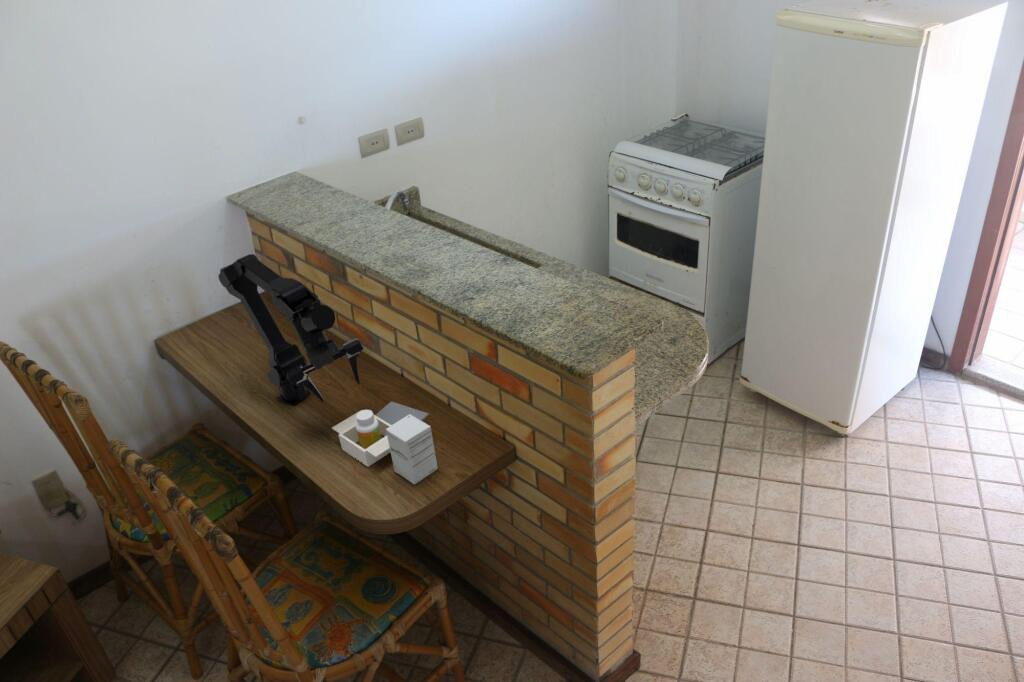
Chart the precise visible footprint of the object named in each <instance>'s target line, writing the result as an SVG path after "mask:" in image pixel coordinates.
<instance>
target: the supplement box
mask: <svg viewBox="0 0 1024 682" xmlns="http://www.w3.org/2000/svg"><path fill="white" fill-rule="evenodd" d="M386 433H387V437H388V442H389V447H390V455H391V460H392V465H393V470H394V472H395V473H397V474H398V475H400V476H401V477H403V478H404V479H406V480H407V481H408V482H409V483H410V484H412V485H416V484H418V483H419V482H421V481H422V480H423V479H425V478H426V477H428V476H429V475H431V474H433V473H434V472H435V471H437V470H438V461H437V457H436V456H437V455H436V451H435V445H434V439H433V433H432V426H431V425H429V424H427V423H426V422H425V421H421V420H419V419H417V418H416V417H414V416H412V415H411V414H409V415H407V416H406V417H404V418H402V419H401V420H399V421H398V422H396V423H395V424H393V425H391V426H390V427H388V428H387V429H386Z"/></svg>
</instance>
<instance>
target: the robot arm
mask: <svg viewBox="0 0 1024 682" xmlns="http://www.w3.org/2000/svg"><path fill="white" fill-rule="evenodd" d="M219 272H220V273H218V280H219V282H220V284H221V286H223V288H225V289H226V291H227V293H228V294H229V295H231V296H233V297H235V298H236V299H238V300H240V302H241V304H242V305H243V307H244V309H245V310H246V312H247V314H248V316H249V318H250V319H251V321H252V323H253V325H254V326H255V328H256V330H257V332H258V333H259V335H260V338H261V339H262V340H263V342H264V344H265V346H266V348H267V349H268V361H267V362H268V364H269V367H270V369H269V371H268V372H267V374H266V376H267V378H268V381H269V382H270V383H272V384H273V385H275V386H277V388H278V390H279V394H280V395H279V396H277V397H276V400H277V401H279V402H282V403H284V404H287V405H290V406H296V405H297V404H299V403H300V402H301V401H303V399H305V398H307V396H309V395H310V394H311V392H312V394H314V396H316V398H318V399H319V400H320V401H321V402H322V403H325V400H324V398H323V396H322V394H321V392H320V391H319V389H318V388H317V387H316V385H315V383H314V382H313V380H312V379H311V377H310V375H308V374H310V373H312V372H314V371H318V370H321V369H323V367H324V366H327V365H330V364H332V363H334V361H336V360H338V359H340V358H342V357H344V356H347V359H348V361H349V364H350V367H351V370H352V374H353V376H354V379H355V381H356V383H357V386H359V385H360V384H361V382H360V378H359V371H358V357H360V355H361V353H360V352H361V351H363V350H364V347H363V344H362V343H361V341H360V339H359V338H357V337H355V338H353V339H351V340H349V341H347V342H344V343H343V344H342V346H343V347H342V348H339V346H338V344H337V343H336V341H335V340H334V338H333V337H332V338H330V339H328V337H327V335H326V333H325V331H326V330H327V331H328V330H330V329H331V328H332V327H333V326H334V324H335V323H336V315H335V311H334V310H333V309H332V308H331V307H329V306H328V305H325V304H321V302H322V301H321V300H320V299H319V296H318V295H317V294H316V293H314V292H313V291H312V290H311V289H309V287H308V286H307V285H305V284H304V283H302V282H301V281H298V280H297V279H295V278H292V277H291V278H290V277H287V278H286V277H283V276H281V275H280V274H279V273H277V272H276V271H274V270H273V269H271V268H270V267H269V266H267V265H266V264H264V263H263V262H262V261H260V260H259V259H258V257H257V256H256V255H255V254H254V253H249V254H246V255H245V256H242V257H239V258H237V259H236V260H235V261H234V262H233V263H231V264H228V265H227V266H224V267H222V268H220V269H219ZM258 288H261V289H262V290H263V291H265V292H266V293H267V294H268V295H270V296H271V297H272V302H273V305H274V306H275V307H276V309H277V310H278V311H279V312H281V313H282V314H284V315H286V316H287V319H286V321H287V322H288V323H291V326H292V328H293V329H294V331H295V333H296V335H297V337H298V339H299V341H300V343H301V345H302V346H303V349H304V350H305V353H306V356H307V359H308V360H309V364H308V363H307V359H306V357H305V355H304V354H303V353H302V352H301V351H300V349H299V347H298V345H297V344H295V343H290V342H288V341H287V340H286V339H285V336H284V335H283V333H282V332H281V330H280V328H279V327H278V324H277V322H276V320H275V319H274V317H273V316H272V313H271V312H270V311H269V309H268V307H267V305H266V303H265V301H264V299H263V298H262V296H261V295H260V293H259V291H258ZM306 388H307V389H306Z"/></svg>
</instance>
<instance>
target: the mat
mask: <svg viewBox="0 0 1024 682" xmlns="http://www.w3.org/2000/svg"><path fill="white" fill-rule="evenodd" d="M409 414H411V415H412V416H414V417H416V418H417V419H419V420H421V421H423V422H425V420H426V419H427V418H428V417H429V415H430V413H428V412H424V411H422V410H419V409H416V408H413V407H409V406H407V405H403V404H402V403H398V402H395V401H390V402H389V403H388V404H386V405H385V406H384V407H383V408H382V409H380V410H379V411H378V412H377V413H376V414H374V415H375V416H377V417H379V418H380V419H382V420H384V421H385V422H387V423H389V424H390V425H393V424H395V423H396V422H398V421H399V420H401V419H402V418H404V417H406V416H407V415H409Z"/></svg>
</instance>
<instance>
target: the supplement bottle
mask: <svg viewBox="0 0 1024 682" xmlns="http://www.w3.org/2000/svg"><path fill="white" fill-rule="evenodd" d="M361 410H362V411H360V410H359V411H360V412H359V411H357V412H358V413H357V412H356V413H357V415H356V419H357V422H356V425H355V427H356V432H357V436H358V440H359V441H358V445H359V446H360V447H362V448H363V449H366V448H368V447H370V446H371V445H373V444H374V443H376V442H377V441H379V440H381V439H382V438H383V437H382V434H381V432H380V428H379V423H378V420H377V419H376V418H374V415H375V414H374V413H373V411H372V410H371V409H361ZM373 414H374V415H373Z"/></svg>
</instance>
